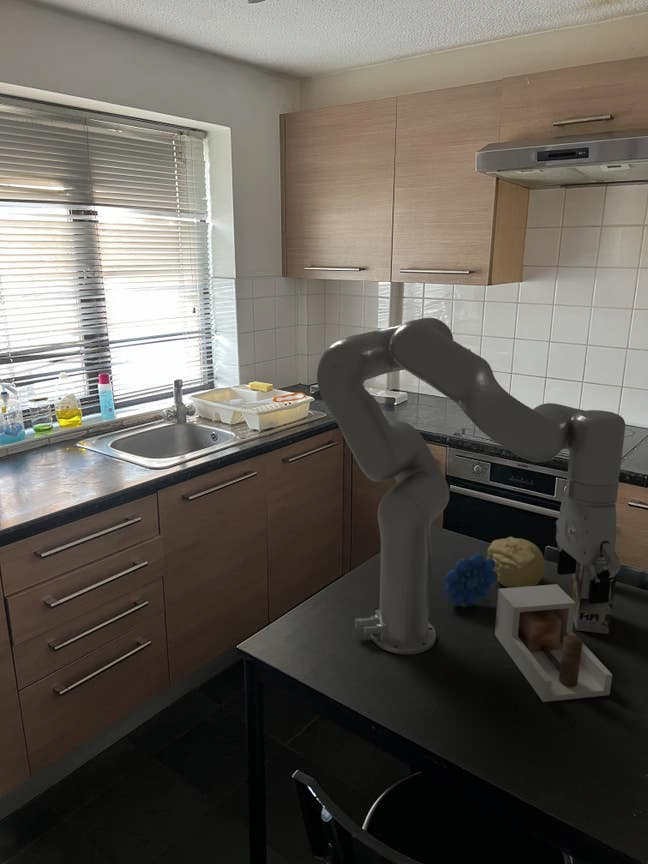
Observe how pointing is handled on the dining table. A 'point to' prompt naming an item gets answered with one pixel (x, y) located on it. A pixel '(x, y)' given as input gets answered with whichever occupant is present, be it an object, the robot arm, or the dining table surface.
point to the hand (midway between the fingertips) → (581, 587)
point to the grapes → (470, 580)
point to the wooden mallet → (551, 642)
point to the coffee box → (586, 613)
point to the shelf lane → (536, 663)
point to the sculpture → (517, 562)
